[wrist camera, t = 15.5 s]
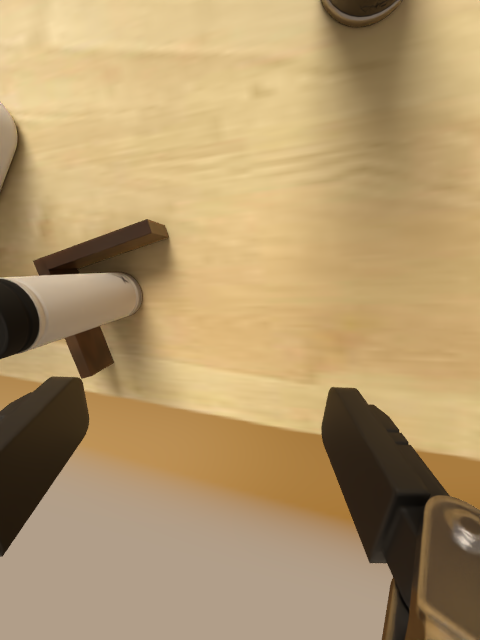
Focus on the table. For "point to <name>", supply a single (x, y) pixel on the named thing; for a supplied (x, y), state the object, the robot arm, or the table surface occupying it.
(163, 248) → the table surface
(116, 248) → the corner bracket
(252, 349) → the table surface
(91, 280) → the travel mug
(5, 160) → the plastic bottle
